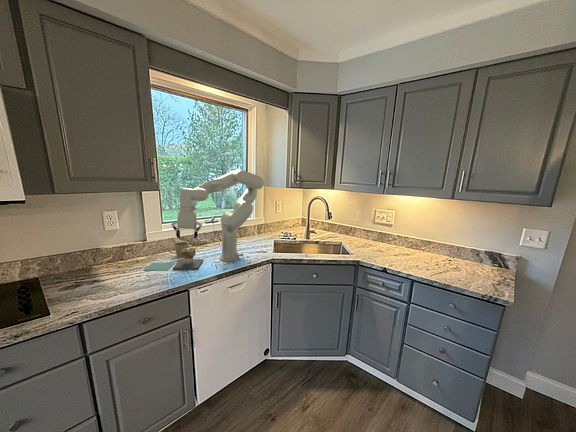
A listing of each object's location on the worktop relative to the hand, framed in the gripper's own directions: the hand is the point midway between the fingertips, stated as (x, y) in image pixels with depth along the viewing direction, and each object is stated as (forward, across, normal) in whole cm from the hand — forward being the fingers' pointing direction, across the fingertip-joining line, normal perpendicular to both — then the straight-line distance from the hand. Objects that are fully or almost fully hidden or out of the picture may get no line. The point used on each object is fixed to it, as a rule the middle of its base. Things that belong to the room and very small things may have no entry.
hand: (187, 237), depth 144 cm
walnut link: (+12, -1, 0) cm, 12 cm away
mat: (+18, +15, +1) cm, 24 cm away
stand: (+18, -1, 0) cm, 18 cm away
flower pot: (+18, +8, -17) cm, 26 cm away
